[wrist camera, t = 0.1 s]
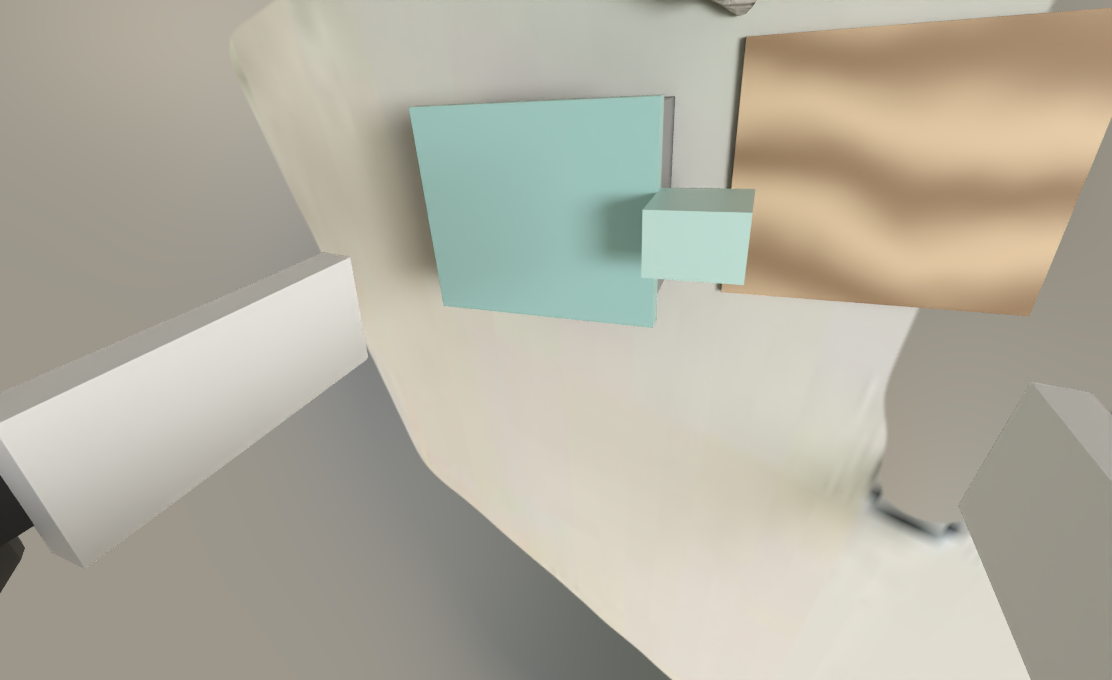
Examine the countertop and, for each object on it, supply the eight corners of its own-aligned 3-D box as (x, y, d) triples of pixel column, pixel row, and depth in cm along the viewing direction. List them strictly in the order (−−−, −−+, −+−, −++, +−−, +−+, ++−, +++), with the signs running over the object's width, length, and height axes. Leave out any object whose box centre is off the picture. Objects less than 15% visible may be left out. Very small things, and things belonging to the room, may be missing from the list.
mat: (746, 36, 30) (746, 36, 30) (1152, 4, 24) (1157, 4, 24) (721, 289, 38) (721, 291, 37) (1026, 313, 32) (1029, 316, 31)
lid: (419, 105, 32) (367, 113, 28) (767, 89, 25) (766, 96, 21) (452, 299, 38) (413, 329, 34) (738, 327, 31) (733, 369, 27)
